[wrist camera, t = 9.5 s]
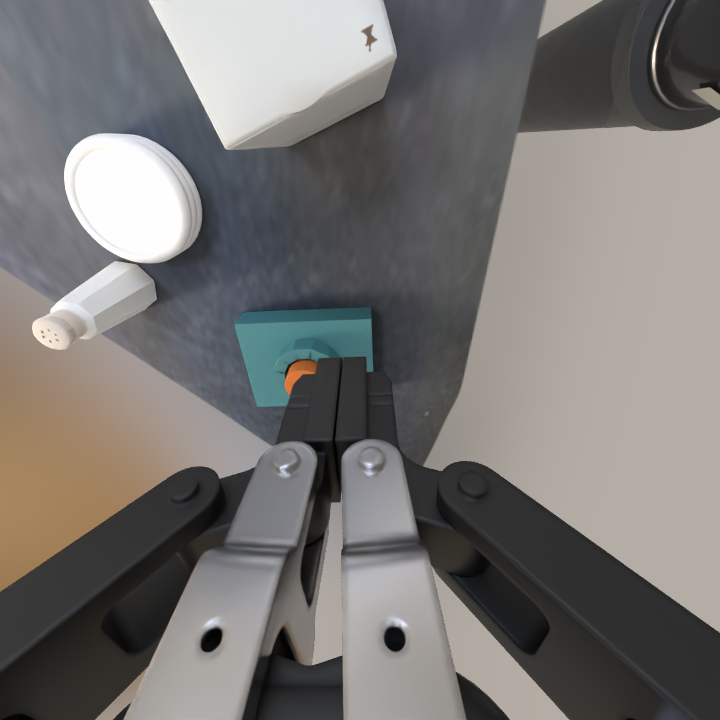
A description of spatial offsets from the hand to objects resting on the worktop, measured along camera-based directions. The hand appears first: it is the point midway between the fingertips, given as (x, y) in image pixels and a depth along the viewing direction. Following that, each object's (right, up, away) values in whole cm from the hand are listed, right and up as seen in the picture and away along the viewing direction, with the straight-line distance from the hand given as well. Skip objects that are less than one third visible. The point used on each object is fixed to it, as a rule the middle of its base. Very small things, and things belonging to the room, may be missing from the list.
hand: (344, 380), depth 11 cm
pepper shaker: (-23, +9, +25) cm, 35 cm away
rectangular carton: (-3, +24, +15) cm, 28 cm away
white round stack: (-19, +15, +20) cm, 32 cm away
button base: (-5, +2, +29) cm, 29 cm away
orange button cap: (-5, -1, +25) cm, 25 cm away
